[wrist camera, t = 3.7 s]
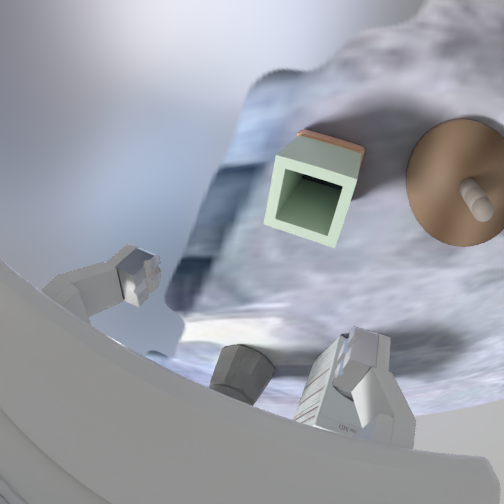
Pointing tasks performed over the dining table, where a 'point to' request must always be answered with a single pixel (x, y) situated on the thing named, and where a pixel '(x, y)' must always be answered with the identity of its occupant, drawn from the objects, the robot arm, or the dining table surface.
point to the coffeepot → (241, 373)
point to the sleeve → (313, 186)
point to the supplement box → (328, 397)
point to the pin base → (458, 182)
